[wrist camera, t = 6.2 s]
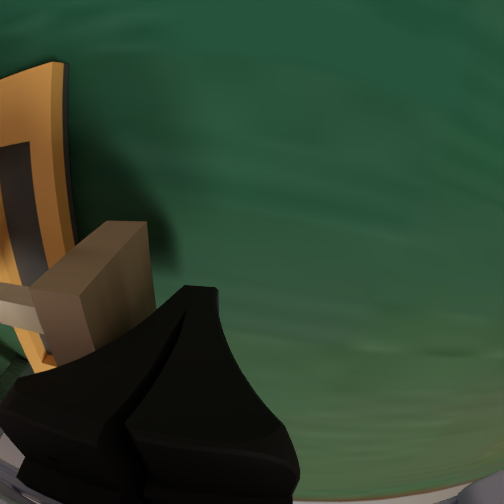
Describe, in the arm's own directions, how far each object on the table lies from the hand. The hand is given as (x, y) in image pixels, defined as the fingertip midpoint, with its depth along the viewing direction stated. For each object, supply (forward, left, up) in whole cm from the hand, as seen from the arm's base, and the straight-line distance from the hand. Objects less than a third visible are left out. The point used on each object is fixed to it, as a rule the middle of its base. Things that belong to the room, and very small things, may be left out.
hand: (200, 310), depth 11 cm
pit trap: (0, +9, -2) cm, 9 cm away
